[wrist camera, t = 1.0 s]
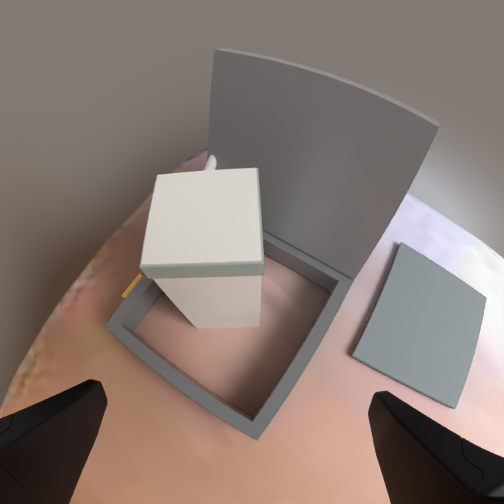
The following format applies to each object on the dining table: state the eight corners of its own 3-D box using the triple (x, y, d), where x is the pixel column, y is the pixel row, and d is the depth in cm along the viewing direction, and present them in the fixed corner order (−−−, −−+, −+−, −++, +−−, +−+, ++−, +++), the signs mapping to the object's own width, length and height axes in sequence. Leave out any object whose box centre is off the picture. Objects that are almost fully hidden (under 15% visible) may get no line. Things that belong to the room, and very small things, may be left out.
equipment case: (256, 434, 18) (255, 522, 4) (113, 328, 22) (-17, 241, 8) (363, 251, 25) (439, 118, 11) (232, 183, 29) (218, 43, 15)
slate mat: (452, 408, 17) (455, 408, 17) (350, 356, 20) (352, 355, 20) (483, 299, 22) (486, 297, 21) (399, 244, 25) (401, 241, 24)
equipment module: (261, 328, 22) (264, 262, 11) (195, 329, 22) (138, 266, 11) (258, 268, 24) (258, 166, 14) (197, 270, 24) (156, 173, 14)
